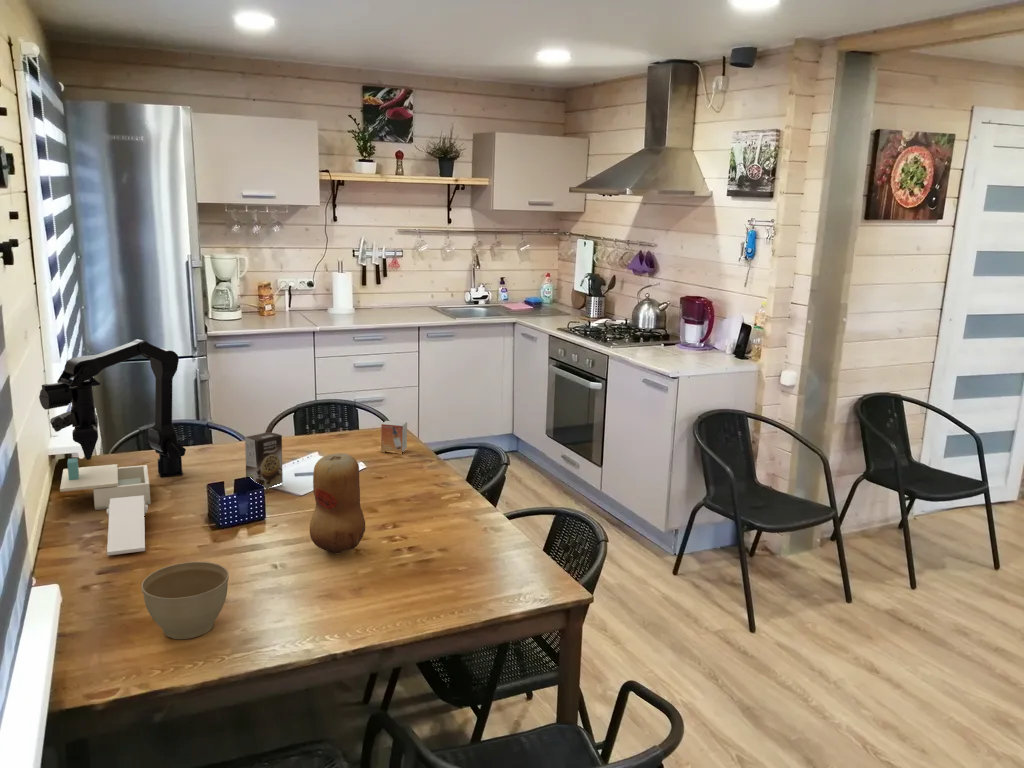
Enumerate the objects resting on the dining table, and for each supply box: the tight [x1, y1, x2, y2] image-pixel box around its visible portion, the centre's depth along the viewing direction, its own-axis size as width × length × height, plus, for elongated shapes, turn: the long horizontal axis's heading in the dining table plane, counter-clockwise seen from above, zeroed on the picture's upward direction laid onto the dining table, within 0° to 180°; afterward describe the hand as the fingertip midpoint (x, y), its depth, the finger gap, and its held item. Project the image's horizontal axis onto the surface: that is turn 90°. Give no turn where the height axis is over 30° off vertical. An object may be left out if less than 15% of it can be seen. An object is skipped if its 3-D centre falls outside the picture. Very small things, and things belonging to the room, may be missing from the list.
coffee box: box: [244, 431, 284, 490], centre depth 243 cm, size 9×6×16 cm
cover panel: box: [59, 457, 119, 493], centre depth 226 cm, size 14×18×6 cm
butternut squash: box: [309, 452, 366, 554], centre depth 198 cm, size 14×13×25 cm
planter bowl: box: [140, 561, 230, 640], centre depth 161 cm, size 16×16×11 cm
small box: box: [380, 420, 408, 452], centre depth 283 cm, size 8×6×10 cm
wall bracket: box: [106, 495, 149, 556], centre depth 206 cm, size 10×7×28 cm
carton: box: [93, 464, 151, 511], centre depth 231 cm, size 14×18×6 cm
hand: (88, 454), depth 231 cm, fingers open, 9 cm apart
